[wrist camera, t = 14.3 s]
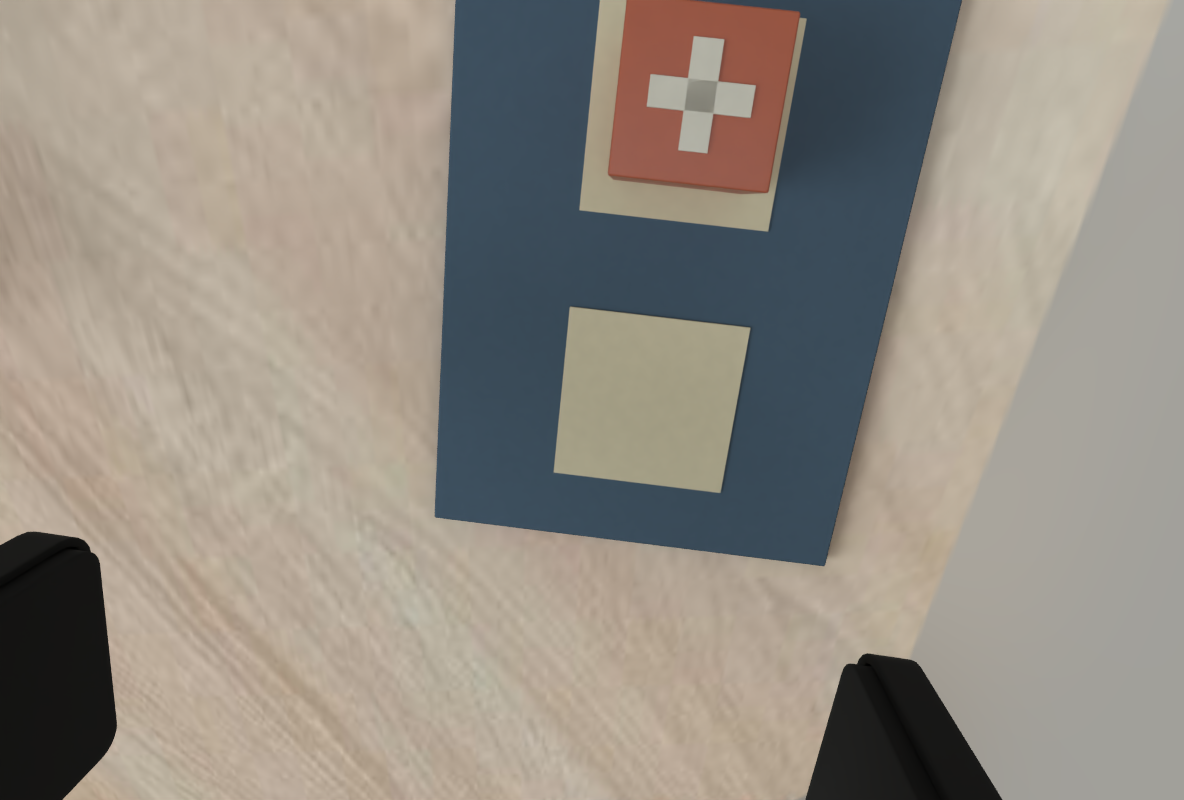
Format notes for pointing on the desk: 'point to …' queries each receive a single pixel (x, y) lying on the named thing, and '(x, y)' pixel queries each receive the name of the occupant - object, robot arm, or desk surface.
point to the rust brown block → (701, 94)
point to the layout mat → (670, 284)
